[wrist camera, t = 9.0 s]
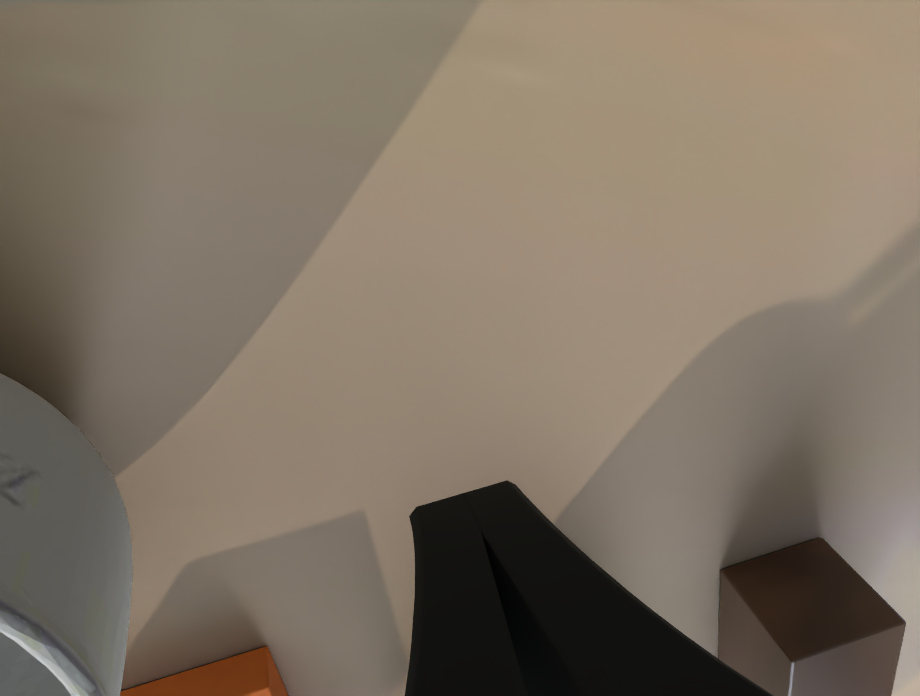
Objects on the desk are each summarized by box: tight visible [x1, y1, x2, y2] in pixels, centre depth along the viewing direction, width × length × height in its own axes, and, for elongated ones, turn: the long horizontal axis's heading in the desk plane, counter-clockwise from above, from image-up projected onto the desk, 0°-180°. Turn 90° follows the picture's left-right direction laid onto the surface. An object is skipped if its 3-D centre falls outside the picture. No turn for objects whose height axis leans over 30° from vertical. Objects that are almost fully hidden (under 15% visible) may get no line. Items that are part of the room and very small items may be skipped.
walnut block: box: [718, 538, 906, 696], centre depth 26 cm, size 4×8×4 cm, turn 9°
